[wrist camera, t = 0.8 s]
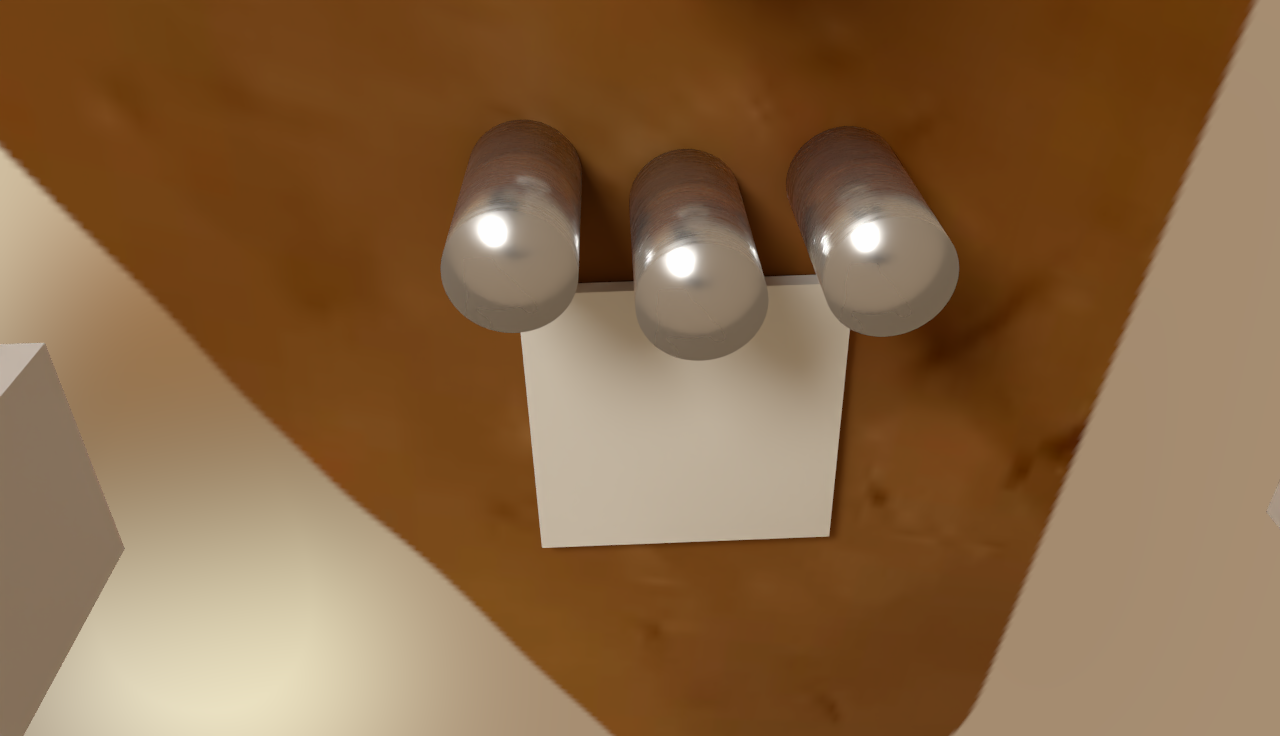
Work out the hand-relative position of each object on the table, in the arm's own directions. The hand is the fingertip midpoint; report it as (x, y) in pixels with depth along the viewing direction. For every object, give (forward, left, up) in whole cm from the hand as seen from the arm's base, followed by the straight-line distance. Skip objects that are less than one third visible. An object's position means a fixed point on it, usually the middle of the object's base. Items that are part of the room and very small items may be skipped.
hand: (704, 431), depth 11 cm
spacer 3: (+5, +6, -19) cm, 20 cm away
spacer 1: (+5, -3, -19) cm, 20 cm away
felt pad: (+13, +1, -19) cm, 23 cm away
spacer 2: (+6, +1, -19) cm, 20 cm away
